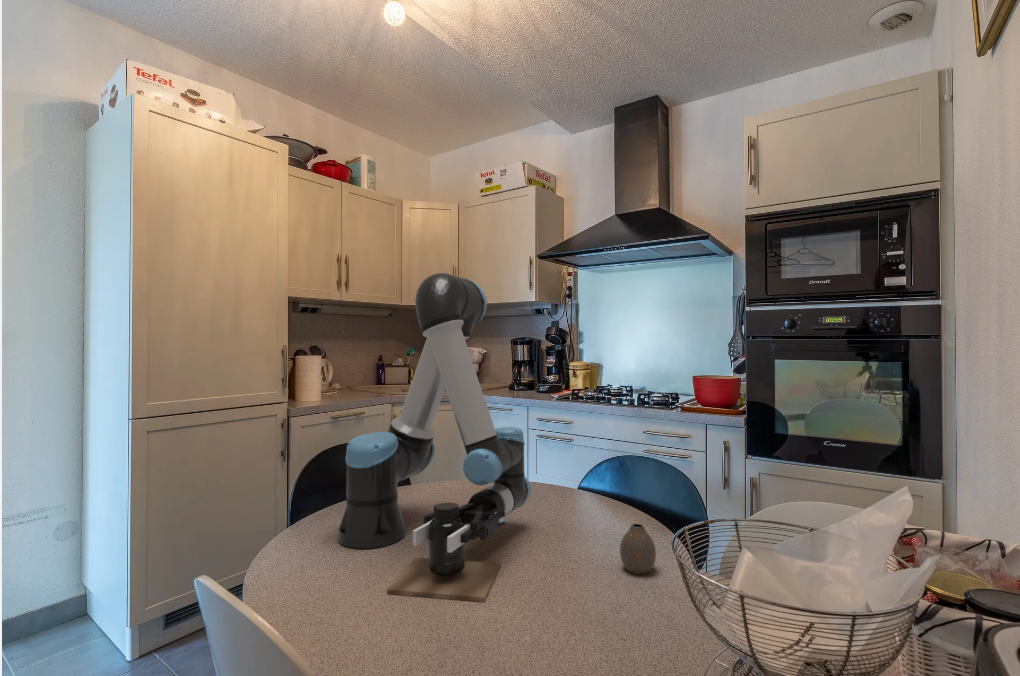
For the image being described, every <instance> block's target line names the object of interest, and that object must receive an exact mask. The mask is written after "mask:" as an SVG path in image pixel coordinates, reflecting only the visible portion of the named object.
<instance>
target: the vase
mask: <svg viewBox="0 0 1020 676" xmlns="http://www.w3.org/2000/svg"><path fill="white" fill-rule="evenodd" d="M656 549H657V548H656V545H655V542H654V539H653V538H652V536H651V535H650V534H649V533H648V531H647V530H646V529H645V526H644V525H643V524H642V523H638V522H637V523H635V522H634V523H632V524H631V525H630V527H629V529H628V530H627V532H625V534H624V535H623V537H622V539H621V541H620V546H619V557H620V559H621V562H622V565H623V567H624V568H625V569H626V570H627V571H628V572H630V573H632V574H635V575H644V574H645V573H646V574H648V573H649V572H650V571H651V570H652V569H653V568H654V565H655V563H656V558H657V551H656ZM646 574H645V575H646Z"/></svg>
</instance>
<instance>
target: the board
mask: <svg viewBox="0 0 1020 676" xmlns="http://www.w3.org/2000/svg"><path fill="white" fill-rule="evenodd" d="M501 567H502V566H501V563H499V562H498V563H497V562H484V561H483V562H482V561H469V560H468V561H467V560H465V567H464V569H463V571H462V572H460V573H458V574H456V575H452V576H437V575H434V574H432V573H431V572H430V570H429V557H425V558H424V557H415V558H414V559H413V560H411V562H409V564H407V566H406V567H405V568H404V570H402V571H401V572H400V574H399V575H398V577H396V578H395V580H394V581H393V582H392V583H391V584H389V586H388V588H387V589H386V594H387V595H396V596H407V597H419V598H432V599H444V600H453V601H465V602H466V601H467V602H477V603H485V602H486V601H487V597H488V596H489V594H490V591H491V590H492V587H493V585H494V582H495V581H496V578H497V576H498V575H499V572H500V570H501Z"/></svg>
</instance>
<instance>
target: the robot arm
mask: <svg viewBox="0 0 1020 676" xmlns="http://www.w3.org/2000/svg"><path fill="white" fill-rule="evenodd" d="M415 294H416V295H415V299H414V301H415V303H414V304H415V311H416V316H417V321H418V324H419V327H420V330H421V333H422V336H423V337H424V338H426V340H425V343H424V345H423V349H422V351H421V354H420V357H419V359H418V362H417V365H416V369H415V371H414V374H413V377H412V379H411V382H410V386H409V388H408V391H407V394H406V397H405V400H404V403H403V406H402V409H401V411H400V414H399V416H398V417H395V418H394V419H392V420H391V422H390V424H389V428H388V430H387V431H377V432H370V433H365V434H360V435H358V436H355V437H354V438H352V439H350V441H348V444H347V445H346V452H345V453H346V455H345V459H344V460H345V474H346V475H345V481H346V483H345V484H346V485H345V490H346V491H345V493H346V494H345V495H346V497H345V498H346V500H345V501H346V502H345V503H346V504H345V505H346V506H345V509H344V512H343V515H342V517H341V518H342V519H341V521H340V524H339V528H338V534H337V536H338V537H337V538H338V543H339V544H340V545H342V546H344V547H346V548H350V549H361V550H362V549H375V548H382V547H386V546H390V545H393V544H394V543H395V544H396V543H397V542H399V541H401V540H402V539H403V538H404V537H405V536H406V523H405V519H404V516H403V513H402V511H401V508H400V504H399V502H398V500H399V499H398V486H399V485H398V483H400V482H402V481H404V480H406V479H408V478H412V477H414V476H416V475H419V474H420V473H422V472H423V471H424V470H425V469H427V467H428V466H430V464H431V463H432V461H433V459H434V456H435V450H436V449H435V444H434V438H435V431H434V430H433V427H432V426H433V423H434V420H435V418H436V415H437V413H438V409H439V406H440V404H441V400H442V397H443V395H444V392H445V391H446V394H447V398H448V401H449V403H450V406H451V410H452V412H453V415H454V418H455V422H456V424H457V427H458V430H459V431H458V432H459V433H460V438H461V440H462V443H463V447H464V449H465V453H466V456H465V458H464V460H463V464H462V465H463V467H462V470H463V473H464V475H465V477H466V479H467V480H468V481H469V482H470V483H472V484H474V485H476V486H486V485H488V484H490V483H491V485H489V486H487V487H485V488H483V489H482V490H480V491H478V492H476V493H474V494H473V495H472V496H471V497H470V498H469V500H468V502H467V503H466V504H464V505H462V506H460V507H459V516H458V518H460V519H461V520H462V521H463V523H464V527H462V528H460V529H459V530H457V531H456V532H454V533H453V534H451V535H449V536H448V537H447V552H450V553H451V552H453V551H454V550H456V549H457V548H459V547H460V546H461V545H463V544H464V543H465V544H468V543H469V542H470V541H473V540H477V539H478V538H480V541H486V540H487V539H488V538H489V537H491V535H493V534H494V533H495V531H497V530H498V528H500V527H502V526H505V525H506V516H507V515H509V514H511V513H512V512H514V511H515V510H517V509H519V508H521V506H523V505H525V503H526V502H527V501H528V499H529V498H530V496H531V493H532V486H531V484H530V481H529V479H528V478H527V477H526V475H525V445H526V443H525V440H524V438H525V436H524V430H522V428H520V427H515V426H505V427H503V426H502V427H496V428H495V426H494V423H493V420H492V417H491V413H490V411H489V408H488V404H487V402H486V399H485V395H484V393H483V390H482V386H481V384H480V381H479V377H478V374H477V372H476V369H475V366H474V363H473V360H472V357H471V354H470V351H469V349H468V344H467V342H466V340H467V339H469V338H470V337H471V335H472V332H473V329H474V327H475V325H477V324H478V323H479V322H480V321H481V320H482V319H483V318H484V316H485V315H486V312H487V307H488V301H487V296H486V294H485V291H483V289H482V288H481V286H479V285H478V283H476V282H474V281H472V280H470V279H469V278H466V277H465V278H464V277H460V276H456V275H454V274H453V275H452V274H449V273H445V272H439V273H434V274H431V275H429V276H428V277H427V278H425V279H424V280H423V281H422V282H421V284H420V285H419V286H418V288H417V291H416V293H415ZM433 519H435V518H434V517H433V512H430V513H429V514H427V515H424V516H423V524H422V525H420V526H419V527H417V528H414V529H413V530H412V546H413V547H414V546H415V547H417V546H419V545H420V544H422V543H423V542H425V541H427V540H429V537H428V527H429V524H430V522H431V521H432V520H433Z"/></svg>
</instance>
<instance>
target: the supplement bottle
mask: <svg viewBox="0 0 1020 676" xmlns="http://www.w3.org/2000/svg"><path fill="white" fill-rule="evenodd" d="M432 513H433V517H434V518H435V519H433V520H432V521H431V522H430V524H429V527H428V537H429V539H428V558H429V570H430V572H431V573H432V574H434V575H437V576H452V575H456V574H458V573H460V572H462V571H463V569H464V567H465V561H466V553H465V552H466V551H465V550H466V549H465V545H466V543H464V544H463V545H461V546H460V547H459V548H457V549H456V550H454V551H453V552H451V553H450V552H447V537H448V536H449V535H451V534H453V533H454V532H456V531H457V530H459V529H460V528H462V527H464V526H465V525H464V523H463V521H462V520H461V519H460V518H458V516H459V504H457V503H456V502H441V503H437V504H435V505H433V512H432Z"/></svg>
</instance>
